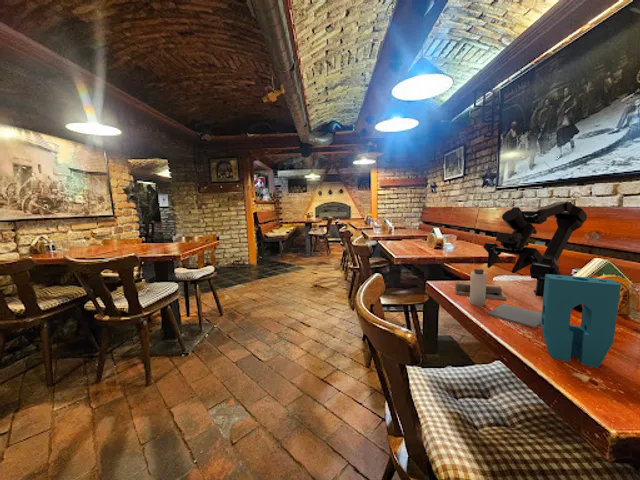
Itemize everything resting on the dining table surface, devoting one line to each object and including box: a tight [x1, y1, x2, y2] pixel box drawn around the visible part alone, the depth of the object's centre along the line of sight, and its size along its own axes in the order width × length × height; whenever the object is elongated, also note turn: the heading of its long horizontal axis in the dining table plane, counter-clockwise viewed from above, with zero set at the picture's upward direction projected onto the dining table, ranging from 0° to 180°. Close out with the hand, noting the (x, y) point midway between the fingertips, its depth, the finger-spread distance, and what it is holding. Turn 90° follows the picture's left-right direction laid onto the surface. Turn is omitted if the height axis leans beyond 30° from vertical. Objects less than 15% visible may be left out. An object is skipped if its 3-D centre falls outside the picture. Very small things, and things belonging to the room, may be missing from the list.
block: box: [540, 274, 622, 368], centre depth 61 cm, size 12×5×20 cm, turn 61°
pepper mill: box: [468, 268, 488, 307], centre depth 97 cm, size 5×5×14 cm
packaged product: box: [454, 280, 507, 301], centre depth 109 cm, size 18×5×10 cm
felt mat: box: [487, 303, 542, 329], centre depth 86 cm, size 14×13×1 cm
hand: (499, 269), depth 95 cm, fingers open, 9 cm apart
